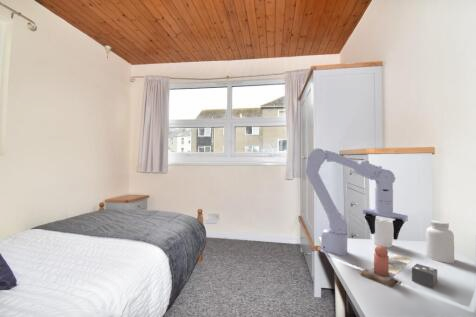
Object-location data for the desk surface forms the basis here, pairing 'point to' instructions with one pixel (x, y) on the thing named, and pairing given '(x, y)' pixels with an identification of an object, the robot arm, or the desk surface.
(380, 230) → the cup
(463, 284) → the desk surface
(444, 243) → the pill bottle
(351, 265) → the desk surface
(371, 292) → the desk surface
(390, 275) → the board
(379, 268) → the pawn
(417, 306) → the desk surface
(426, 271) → the dark grey block
